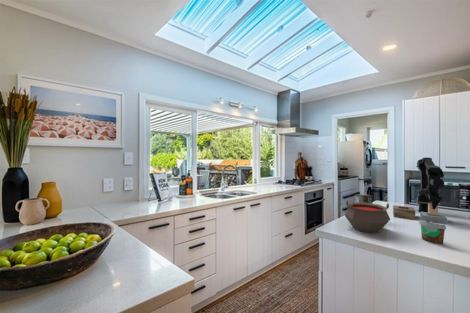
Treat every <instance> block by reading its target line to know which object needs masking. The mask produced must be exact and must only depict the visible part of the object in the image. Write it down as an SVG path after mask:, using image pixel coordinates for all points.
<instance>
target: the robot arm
mask: <svg viewBox="0 0 470 313" xmlns="http://www.w3.org/2000/svg"><path fill="white" fill-rule="evenodd" d="M416 167H417V169H418V171H419V173H420V189H417V190H416V191H417V196H416V200H415V203H416V204H418V209H417V211H418V212H419V213H420V212H428V203H432V208H433V209H435V208H436V207H437V205H438V206H439V204H440V202H441V201H443V197H442V196H441V194H440V190H441V188H443V187H444V186H445V181H444V180H443V179H444V176H445V174H444V171H443V169H442V168H441V166H439V165H436V164H435V162H434V161H433V158H432V157H422V158H421V159H418V160H417V162H416Z"/></svg>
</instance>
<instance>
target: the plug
mask: <svg viewBox="0 0 470 313" xmlns="http://www.w3.org/2000/svg"><path fill="white" fill-rule="evenodd" d="M428 213H429V215H437V216H438V214H439V204H438V205H437V207H436V208H435V209H433V208H432V203H428Z"/></svg>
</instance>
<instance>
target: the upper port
mask: <svg viewBox="0 0 470 313" xmlns="http://www.w3.org/2000/svg"><path fill="white" fill-rule="evenodd" d="M392 206H393V207H392V215H393V218H399V219H406V218H407V219H408V220H414V221H416V210H415V208H414V207H413V206H405V205H403V206H402V205H394V204H392Z"/></svg>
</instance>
